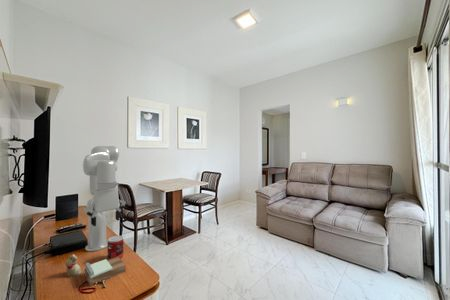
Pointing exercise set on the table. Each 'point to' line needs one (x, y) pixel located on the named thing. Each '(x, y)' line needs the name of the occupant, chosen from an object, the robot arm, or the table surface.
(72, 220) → the table surface
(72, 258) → the chocolate bunny
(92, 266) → the lid
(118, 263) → the compartment box
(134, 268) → the table surface
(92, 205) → the robot arm
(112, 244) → the canned food
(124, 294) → the table surface
